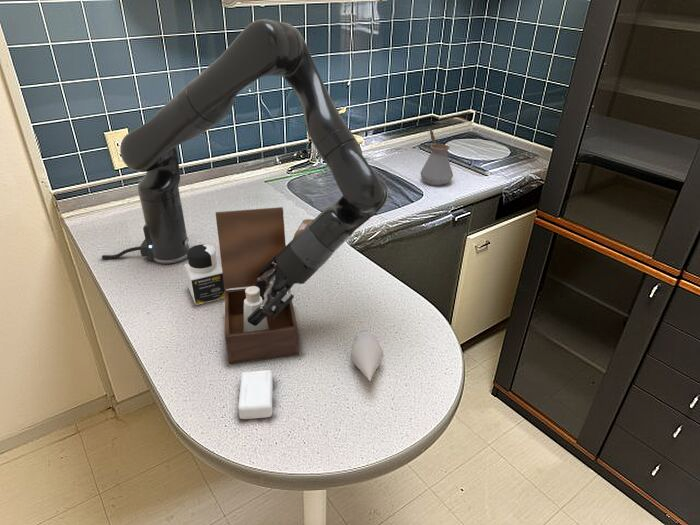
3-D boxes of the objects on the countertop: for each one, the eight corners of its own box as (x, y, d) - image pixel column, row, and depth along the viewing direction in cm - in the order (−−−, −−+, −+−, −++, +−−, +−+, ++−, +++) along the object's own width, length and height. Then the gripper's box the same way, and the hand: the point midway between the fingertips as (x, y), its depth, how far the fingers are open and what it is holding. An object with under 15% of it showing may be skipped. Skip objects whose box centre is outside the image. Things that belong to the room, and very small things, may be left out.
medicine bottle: (195, 306, 110) (187, 259, 104) (188, 289, 115) (180, 244, 109) (227, 298, 113) (221, 252, 106) (219, 282, 118) (212, 238, 112)
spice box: (299, 354, 97) (297, 327, 93) (229, 364, 94) (225, 336, 90) (289, 309, 109) (288, 283, 106) (228, 316, 107) (224, 290, 103)
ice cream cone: (366, 401, 86) (362, 355, 100) (394, 383, 85) (386, 338, 99) (344, 379, 84) (343, 335, 98) (373, 359, 83) (367, 317, 97)
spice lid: (282, 207, 101) (282, 207, 102) (215, 212, 98) (215, 212, 99) (288, 282, 105) (288, 281, 106) (224, 289, 103) (224, 288, 103)
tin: (303, 269, 124) (302, 240, 119) (291, 268, 124) (290, 238, 120) (318, 241, 136) (318, 214, 132) (307, 240, 137) (306, 213, 133)
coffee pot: (455, 187, 172) (461, 145, 164) (423, 188, 171) (427, 145, 164) (441, 166, 190) (445, 127, 183) (411, 166, 190) (415, 127, 182)
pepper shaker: (267, 343, 98) (263, 297, 93) (240, 342, 98) (235, 296, 93) (272, 326, 103) (268, 282, 97) (246, 325, 103) (241, 281, 97)
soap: (272, 418, 83) (271, 406, 81) (239, 421, 82) (237, 408, 81) (273, 380, 90) (272, 368, 89) (242, 382, 90) (241, 370, 88)
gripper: (287, 226, 98) (233, 280, 101) (296, 262, 86) (235, 322, 90) (314, 247, 102) (261, 298, 105) (326, 284, 90) (267, 341, 93)
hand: (249, 309), depth 97 cm, fingers open, 8 cm apart
